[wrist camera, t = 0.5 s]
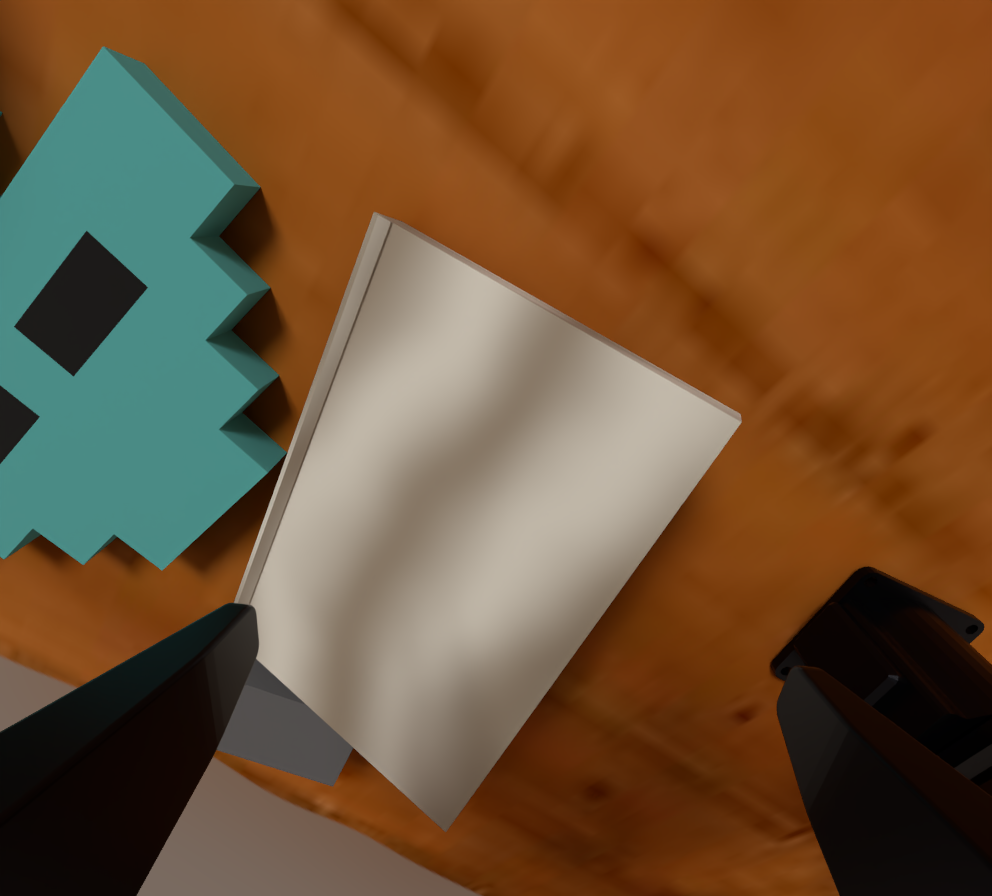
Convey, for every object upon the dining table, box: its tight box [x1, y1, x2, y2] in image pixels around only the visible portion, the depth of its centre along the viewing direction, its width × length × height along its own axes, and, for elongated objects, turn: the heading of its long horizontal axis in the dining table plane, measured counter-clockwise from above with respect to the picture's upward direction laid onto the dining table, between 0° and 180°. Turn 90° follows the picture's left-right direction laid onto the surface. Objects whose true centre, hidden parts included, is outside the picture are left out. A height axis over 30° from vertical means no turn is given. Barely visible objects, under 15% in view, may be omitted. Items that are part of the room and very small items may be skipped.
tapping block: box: [217, 659, 353, 786], centre depth 25 cm, size 8×4×3 cm, turn 65°
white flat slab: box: [234, 212, 741, 832], centre depth 18 cm, size 12×18×2 cm, turn 154°
